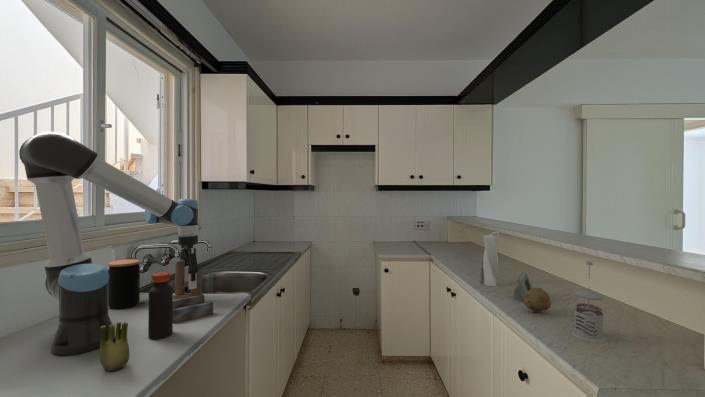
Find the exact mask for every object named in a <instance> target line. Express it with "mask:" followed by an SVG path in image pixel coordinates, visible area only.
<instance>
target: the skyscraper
mask: <svg viewBox="0 0 705 397" xmlns="http://www.w3.org/2000/svg"><path fill="white" fill-rule="evenodd" d="M494 234H498V235H497V236H495V235H494ZM499 236H500V232H498V231H494V232H492V233H491V232H490V234H488V235H487V234H486V235H483V242H484V243H483V244H484V251H483V259H481V267H480V282H479V283H480V285H481V286H482V287H495V288H496V287H498V285H497V282H496V280H497V275H498V270H499V257H498V250H497V246H498V240H499Z"/></svg>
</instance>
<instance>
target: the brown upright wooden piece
mask: <svg viewBox="0 0 705 397" xmlns="http://www.w3.org/2000/svg"><path fill="white" fill-rule="evenodd" d="M174 264H175V265H174V267H175V268H174V294H173V300H176V299H181V298H187V297H192V296H198V295H203V268H200V269H198V272H197V288H195V289H190V292H185V288H189V279H188V281H187V282H185V261H184V260H180V259H177V260H176V259H175V261H174Z"/></svg>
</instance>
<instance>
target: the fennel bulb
mask: <svg viewBox="0 0 705 397" xmlns="http://www.w3.org/2000/svg"><path fill="white" fill-rule="evenodd" d="M115 324H116V327H115ZM128 325H129V323H128V322H126V321H124V322H121V321H116V323H112V324H111V325H109V329H108V339H107V330H106V326H105V325H104V326H101V327H100V336H101V340H100V348H99V360H100V364H101V365H102V368H103V369H104V370H106V371H109V372H116V371H119V370H121V369H123V368H124V367H125V366H126V365H127V364H128V362H129V359H130V346H129V343H128V342H129V341H128ZM114 331H115V339H114Z"/></svg>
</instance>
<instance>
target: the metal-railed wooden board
mask: <svg viewBox="0 0 705 397" xmlns="http://www.w3.org/2000/svg"><path fill="white" fill-rule="evenodd" d="M211 315H214V302H213V301H207V302H205V294H202V295H198V296H192V297H187V298H181V299H176V300H173V324H176V323H180V322H184V321H190V320H193V319H198V318H202V317H207V316H211Z"/></svg>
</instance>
